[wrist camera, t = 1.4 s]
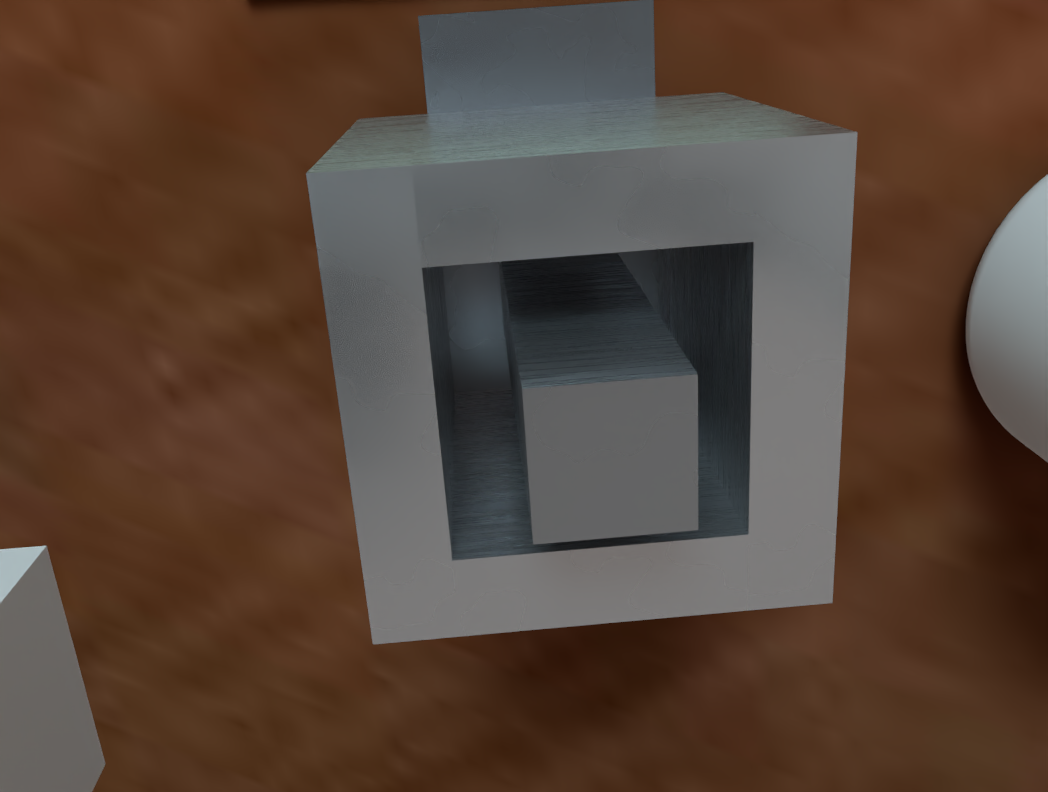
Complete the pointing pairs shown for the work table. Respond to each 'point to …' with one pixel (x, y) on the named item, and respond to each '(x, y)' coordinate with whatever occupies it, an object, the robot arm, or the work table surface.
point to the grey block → (570, 292)
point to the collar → (684, 306)
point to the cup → (1014, 321)
